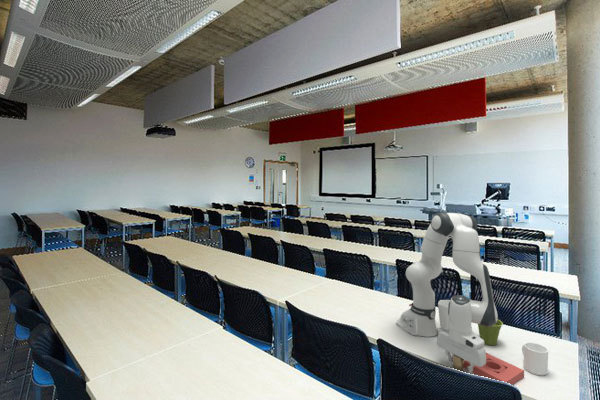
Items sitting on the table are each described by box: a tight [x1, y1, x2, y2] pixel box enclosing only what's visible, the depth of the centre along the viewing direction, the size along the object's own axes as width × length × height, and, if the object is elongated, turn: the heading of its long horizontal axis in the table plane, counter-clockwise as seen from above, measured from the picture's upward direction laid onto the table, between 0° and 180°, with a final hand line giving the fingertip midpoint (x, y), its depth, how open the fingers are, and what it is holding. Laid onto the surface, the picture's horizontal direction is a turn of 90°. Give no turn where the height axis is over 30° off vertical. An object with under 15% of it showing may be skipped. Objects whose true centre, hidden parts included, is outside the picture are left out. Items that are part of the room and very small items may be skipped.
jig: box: [464, 352, 525, 386], centre depth 133 cm, size 17×15×3 cm
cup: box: [437, 299, 451, 329], centre depth 165 cm, size 11×10×17 cm
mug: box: [521, 342, 549, 376], centre depth 136 cm, size 12×8×10 cm
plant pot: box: [477, 319, 504, 346], centre depth 157 cm, size 12×12×11 cm
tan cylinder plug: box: [452, 354, 465, 373], centre depth 134 cm, size 4×4×7 cm
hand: (459, 365), depth 133 cm, fingers open, 8 cm apart
